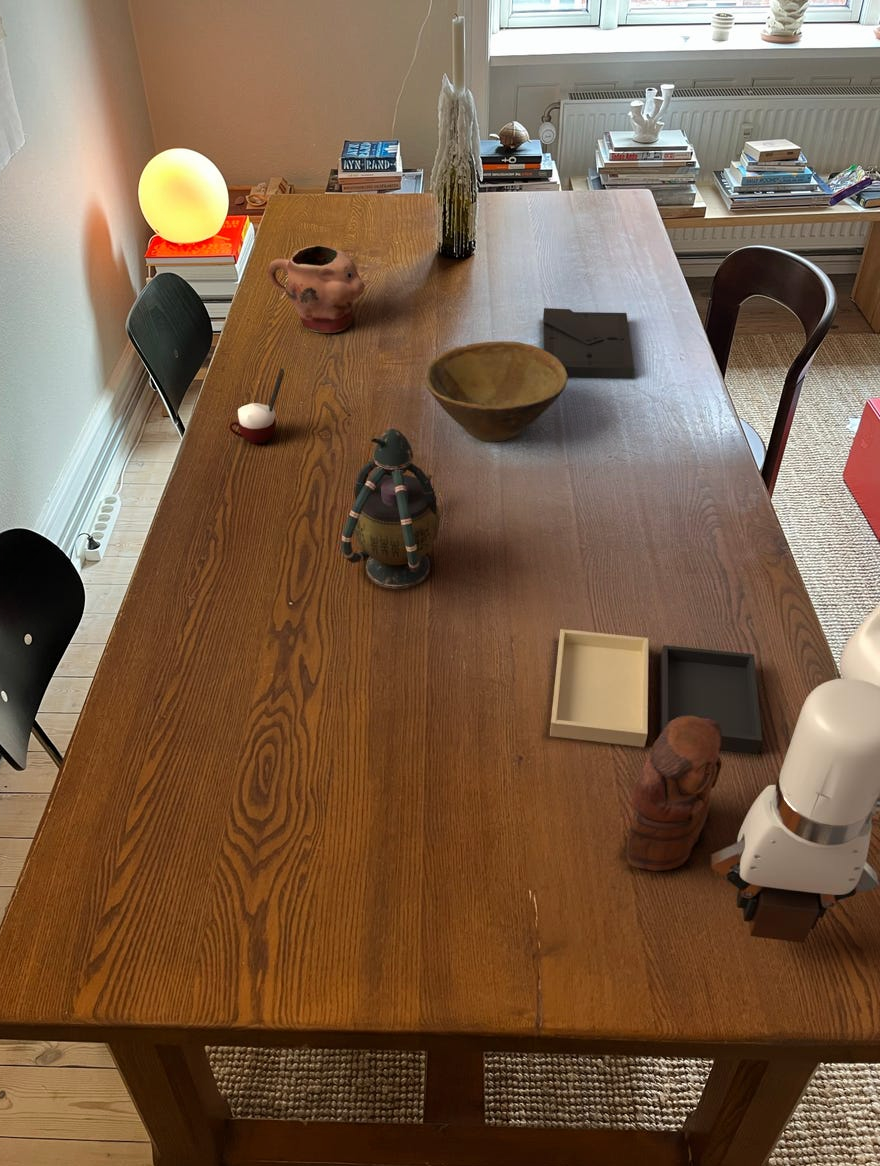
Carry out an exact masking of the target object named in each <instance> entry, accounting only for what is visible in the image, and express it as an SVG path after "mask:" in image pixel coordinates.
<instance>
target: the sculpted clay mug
mask: <svg viewBox="0 0 880 1166" xmlns="http://www.w3.org/2000/svg"><path fill="white" fill-rule="evenodd" d="M278 270H283V271H284V272H285V273H286V274H287V279H286V282H285V286H284V285H282V284H281V283H280V282H279V280H278V279H277V271H278ZM267 272H268V276H269V279H270V280H271V283H272V284H273V285H274V286H275V287H278V288H279V289H281V290H282V291H283V292H284V293H285V294H286V296H287V299H288V300H289V301H290V303H291V304H292V305H293V306H294V308H295V310H296V312H297V313H298V316H299V318H300V321H301V324H302V326H303V327H304V329H306V330H309V331H311V332H315V333H323V334H334V333H339V332H341V331H343V330H345V329H346V328H348V327H349V326H351V325H352V322H353V319H354V308H353V303H354V301H355V300H357V299H358V298H359V297H361V296H362V295H363V294H364V292H365V289H366V285H365V282H364V281H363V280H362V278H361V275H360V274H359V272H358V269H357V267H356V264H355V262H354V261H353V260H352V259H351V258H350V257H349V256H348V255H347V254H346V252H345V251H342V250H339V249H336V248H334V247H330V246H327V245H310V246H306V247H303V248H300V249H298V250H296V251H295V252H294V253H292V254H291V256H290V258H276V259H274V260H272V261H271V262H270V263H269V265H268V267H267Z"/></svg>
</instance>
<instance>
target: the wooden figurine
mask: <svg viewBox="0 0 880 1166" xmlns="http://www.w3.org/2000/svg"><path fill="white" fill-rule="evenodd" d="M721 740H722V733H721V727H720V725H719V723H717V722H715V721H714V720H711V719H703V718H699V717H696V716H681V717H677V718H676V719H674V720H672V721H671V722H669V724H667V725H666V727H665V728H664V730H663V731H662V733H661V734H660V733H659V736H658V737H657V739H656V740H655V741H654V743H653V745H652V748H651V751H650V755H649V757H648V758H647V759H646V762H645V764H644V765H643V768H642V769H641V771H640V773H639V777H638V779H637V781H636V784H635V786H634V792H633V794H632V800H631V805H632V807H633V809H634V812H633V818H632V821H631V824H630V827H629V830H628V834H627V835H628V836H627V841H626V859H627V860H626V861H627V862H628V864H629V865H631V866H632V867H634V868H636V869H641V870H648V871H652V872H659V871H669V870H673V869H675V868H678V867H680V866H681V865H683V864H684V863H685V862H687V860H688V858H689V857H690V855H691V853H692V849H693V846H694V845H695V844H696V843H697V842H698V841H699V838H700V833H701V831H702V829H704V827H705V824H706V821H707V820H706V819H707V817H708V815H709V805H710V794H711V792H712V791H711V790H712V789H713V788H715V786H716V784H717V782H718V779H719V775H720V772H721V768H722V764H723V763H722V760H721V757H720V751H721V750H720V748H721Z"/></svg>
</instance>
